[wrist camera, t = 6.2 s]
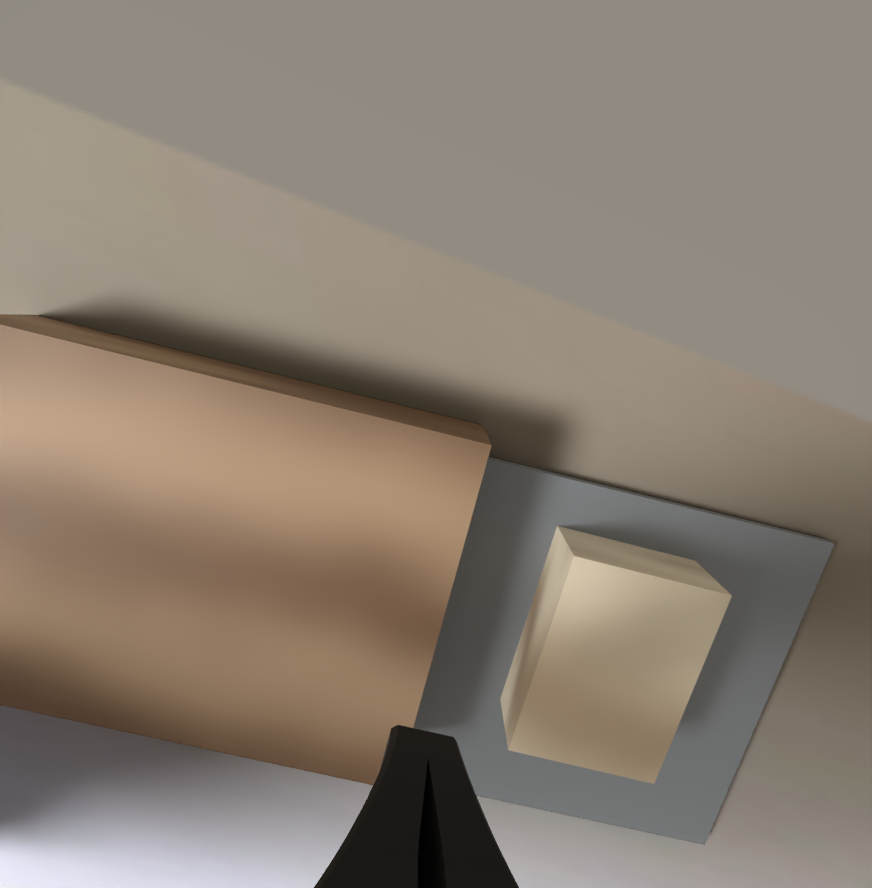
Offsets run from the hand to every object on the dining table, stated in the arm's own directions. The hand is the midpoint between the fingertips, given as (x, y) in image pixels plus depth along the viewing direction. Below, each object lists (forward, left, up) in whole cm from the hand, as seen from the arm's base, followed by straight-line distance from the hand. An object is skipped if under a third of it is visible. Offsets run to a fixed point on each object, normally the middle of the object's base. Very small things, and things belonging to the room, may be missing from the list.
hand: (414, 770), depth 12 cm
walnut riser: (0, +7, -9) cm, 11 cm away
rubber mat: (-1, -7, -9) cm, 11 cm away
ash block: (0, -6, -6) cm, 8 cm away
